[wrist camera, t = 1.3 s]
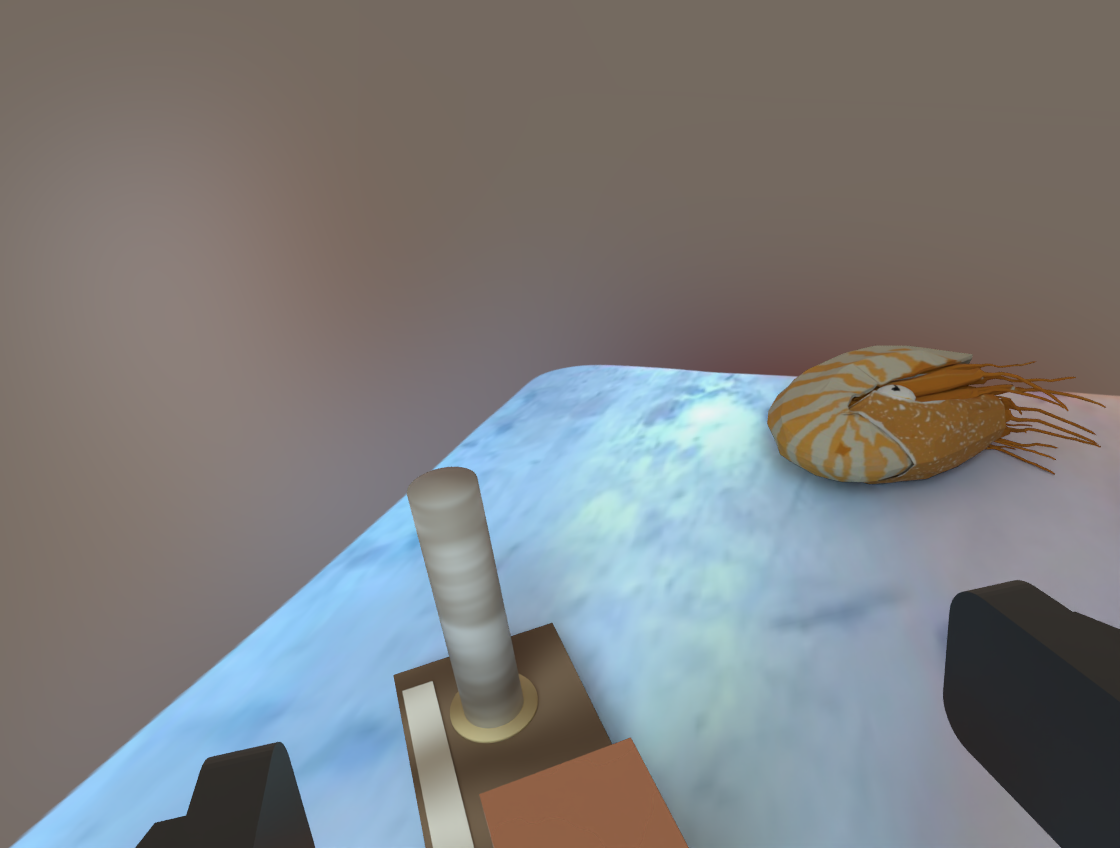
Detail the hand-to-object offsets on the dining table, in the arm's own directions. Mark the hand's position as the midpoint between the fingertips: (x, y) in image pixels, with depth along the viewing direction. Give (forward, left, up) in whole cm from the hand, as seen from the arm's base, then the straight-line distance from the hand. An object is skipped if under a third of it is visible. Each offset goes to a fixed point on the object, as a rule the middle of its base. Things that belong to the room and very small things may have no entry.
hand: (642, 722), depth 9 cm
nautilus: (-46, -11, -24) cm, 53 cm away
